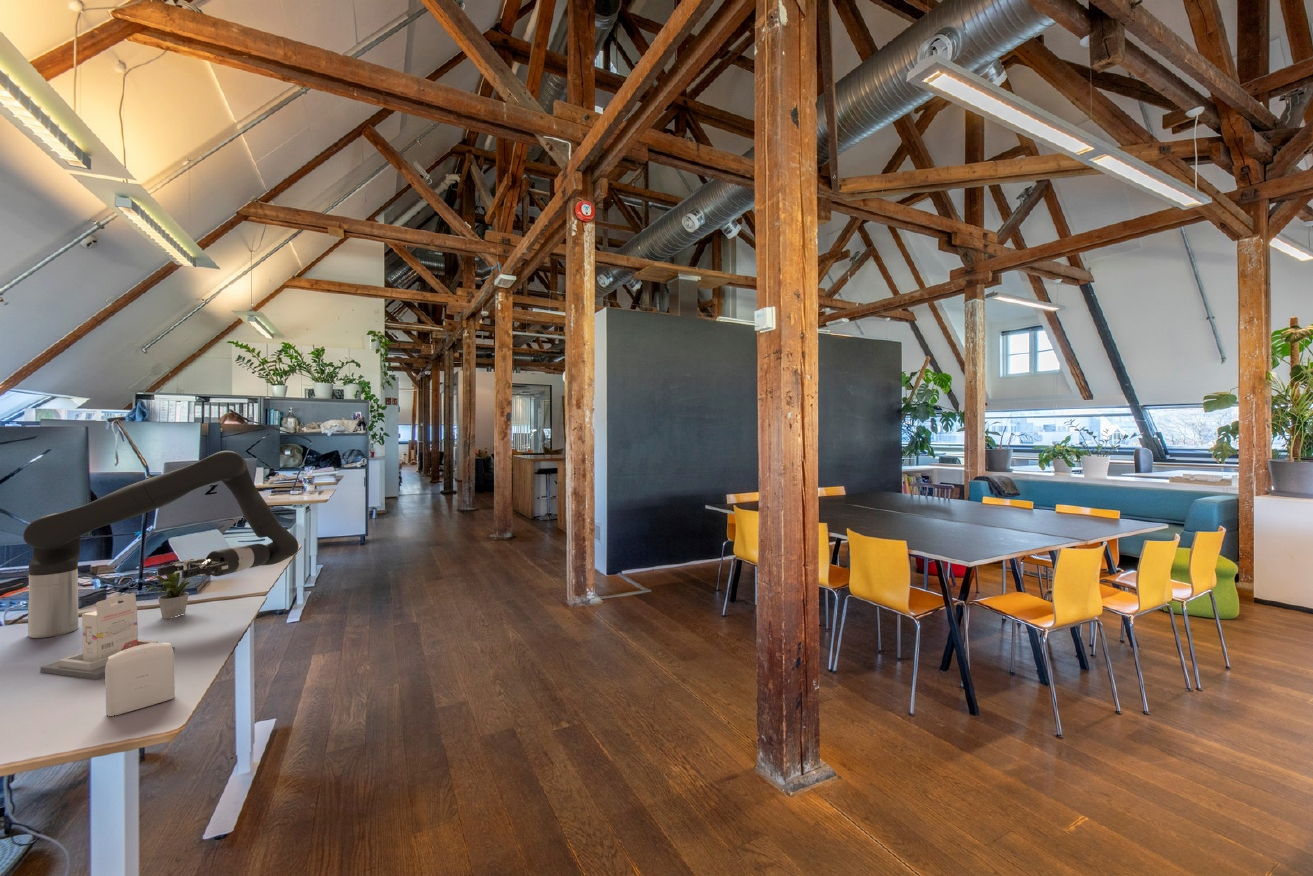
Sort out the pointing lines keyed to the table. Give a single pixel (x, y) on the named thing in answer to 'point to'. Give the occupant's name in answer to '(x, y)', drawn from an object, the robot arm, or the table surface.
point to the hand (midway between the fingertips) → (170, 573)
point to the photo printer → (139, 677)
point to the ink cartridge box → (110, 628)
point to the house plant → (172, 595)
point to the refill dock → (82, 665)
